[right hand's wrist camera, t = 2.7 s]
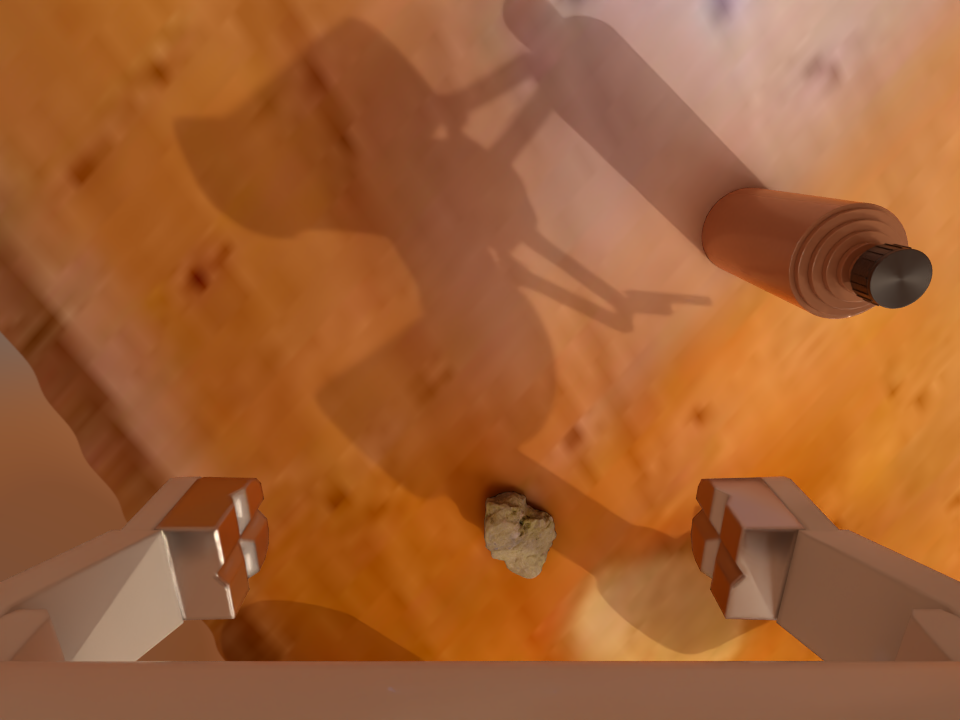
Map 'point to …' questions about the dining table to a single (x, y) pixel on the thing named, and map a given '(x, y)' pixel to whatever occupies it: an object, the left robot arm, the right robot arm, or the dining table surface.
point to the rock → (518, 533)
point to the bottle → (798, 245)
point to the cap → (891, 275)
